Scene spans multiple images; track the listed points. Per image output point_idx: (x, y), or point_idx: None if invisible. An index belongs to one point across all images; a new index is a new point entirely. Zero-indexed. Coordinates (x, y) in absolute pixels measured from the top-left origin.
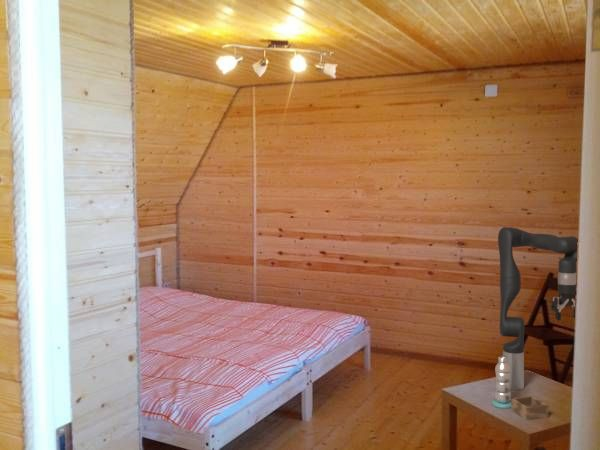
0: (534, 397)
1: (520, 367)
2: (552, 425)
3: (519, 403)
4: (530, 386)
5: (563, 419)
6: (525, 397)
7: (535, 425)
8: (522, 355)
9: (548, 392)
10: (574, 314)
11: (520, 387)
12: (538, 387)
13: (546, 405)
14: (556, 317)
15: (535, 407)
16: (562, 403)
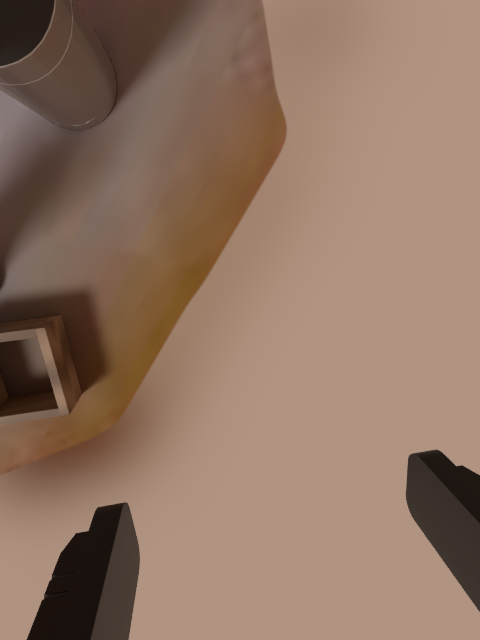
0: (48, 342)
1: (49, 100)
2: (68, 444)
3: None
4: (149, 98)
5: (120, 412)
6: (12, 336)
7: (17, 439)
8: (37, 64)
9: (188, 187)
10: (449, 521)
11: (84, 126)
12: (177, 120)
13: (61, 414)
14: (69, 572)
15: (17, 421)
16: (182, 299)
